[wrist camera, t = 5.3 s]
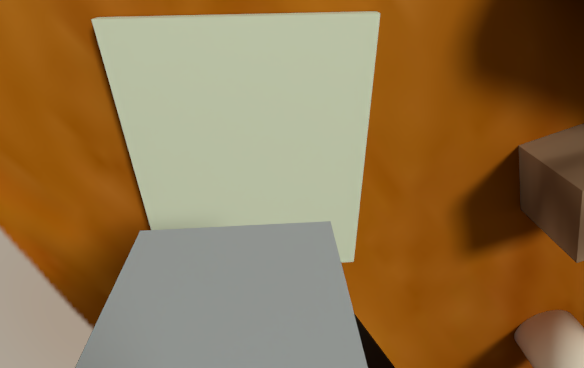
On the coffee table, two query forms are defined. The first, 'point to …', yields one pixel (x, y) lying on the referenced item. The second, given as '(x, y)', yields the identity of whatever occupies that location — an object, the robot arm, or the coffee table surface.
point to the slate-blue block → (229, 302)
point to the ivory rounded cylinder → (552, 340)
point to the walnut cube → (555, 187)
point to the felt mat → (245, 115)
